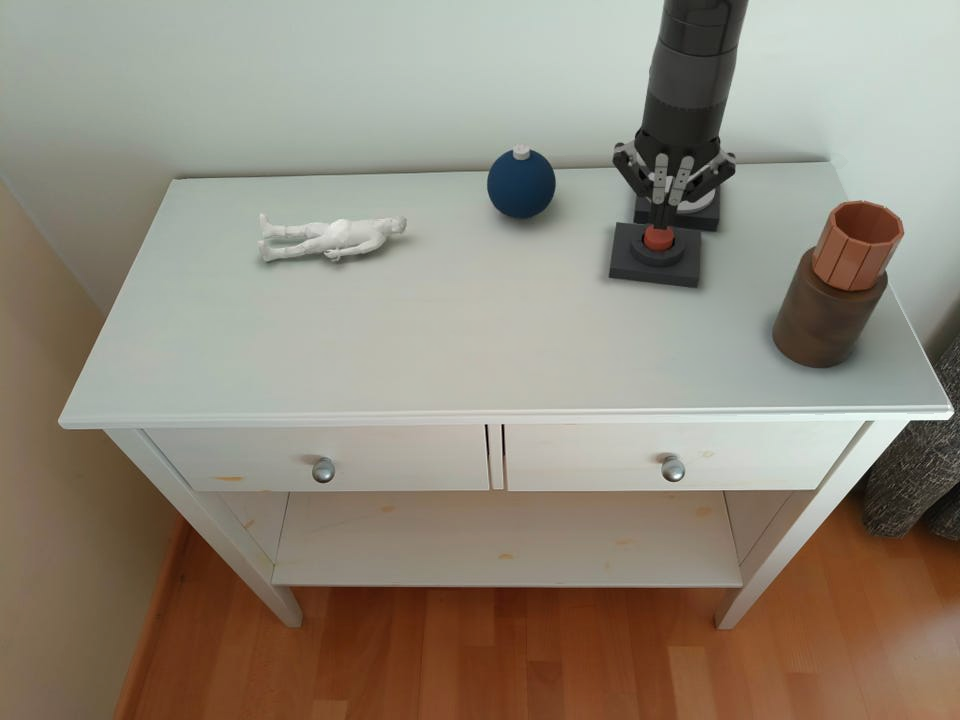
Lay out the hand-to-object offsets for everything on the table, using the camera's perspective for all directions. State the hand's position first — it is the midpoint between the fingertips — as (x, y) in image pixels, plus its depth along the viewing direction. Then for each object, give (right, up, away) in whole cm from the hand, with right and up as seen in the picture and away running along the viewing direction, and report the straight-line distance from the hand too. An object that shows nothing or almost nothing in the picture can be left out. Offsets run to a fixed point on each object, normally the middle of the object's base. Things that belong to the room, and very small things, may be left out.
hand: (660, 224), depth 82 cm
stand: (+15, -13, -4) cm, 20 cm away
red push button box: (0, -3, +4) cm, 5 cm away
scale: (+4, +4, +10) cm, 12 cm away
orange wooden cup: (+15, -7, -12) cm, 20 cm away
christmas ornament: (-15, +4, +11) cm, 19 cm away
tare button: (0, -2, +2) cm, 3 cm away
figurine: (-38, -1, +8) cm, 39 cm away
